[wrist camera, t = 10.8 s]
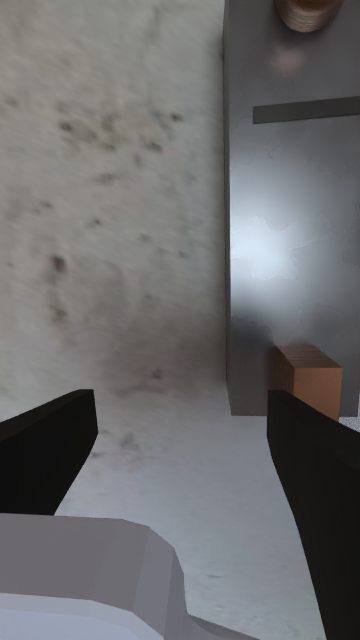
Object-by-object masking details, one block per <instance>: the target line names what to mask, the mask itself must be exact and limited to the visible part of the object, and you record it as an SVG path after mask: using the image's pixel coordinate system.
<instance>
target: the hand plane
mask: <svg viewBox="0 0 360 640" xmlns="http://www.w3.org/2000/svg"><path fill="white" fill-rule="evenodd" d="M223 107H224V198H225V289H226V380H227V389H228V396H229V402H230V409H231V415H232V416H267V399H268V390H285V391H287V392H289V393H291V394H292V395H294V396H295V397H297V398H299V399H300V400H302V401H303V402H305V403H306V404H308V405H310V406H311V407H313V408H314V409H316V410H318V411H319V412H321V413H323V414H324V415H326V416H328V417H330V418H332V419H333V420H335V421H337V422H338V420H339V417H357V415H358V404H359V394H360V0H225V6H224V21H223Z"/></svg>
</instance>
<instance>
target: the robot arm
mask: <svg viewBox="0 0 360 640" xmlns="http://www.w3.org/2000/svg"><path fill="white" fill-rule="evenodd" d="M97 435H98V426H97V417H96V408H95V399H94V390H93V389H79V390H76V391H73V392H70V393H68V394H65V395H63V396H61V397H58V398H56V399H54V400H52V401H50V402H47V403H45V404H43V405H41V406H39V407H36V408H34V409H32V410H29V411H27V412H25V413H22V414H20V415H18V416H15V417H13V418H10V419H8V420H5V421H3V422H0V640H259V639H257V638H254V637H251V636H248V635H245V634H243V633H240V632H237V631H234V630H231V629H229V628H226V627H223V626H220V625H218V624H215V623H212V622H209V621H206V620H204V619H201V618H198V617H195V616H193V615H190V614H188V612H187V608H186V603H185V591H184V573H183V571H182V568H181V565H180V563H179V560H178V557H177V555H176V552H175V549H174V548H173V547H172V546H171V545H170V544H169V543H168V542H166V541H165V540H164V539H163V538H162V537H160V536H159V535H158V534H157V533H156V532H154V531H153V530H152V529H151V528H150V527H148V526H145V525H141V524H137V523H134V522H130V521H126V520H123V519H110V518H90V517H70V516H54V514H55V512H56V510H57V508H58V507H59V505H60V503H61V501H62V500H63V498H64V496H65V495H66V493H67V491H68V490H69V488H70V486H71V485H72V483H73V481H74V480H75V478H76V476H77V475H78V473H79V471H80V470H81V468H82V466H83V465H84V463H85V461H86V459H87V458H88V456H89V454H90V452H91V450H92V447H93V445H94V443H95V440H96V438H97ZM267 439H268V444H269V448H270V452H271V456H272V460H273V463H274V466H275V468H276V471H277V474H278V476H279V479H280V481H281V484H282V487H283V489H284V492H285V495H286V497H287V500H288V502H289V505H290V508H291V510H292V513H293V516H294V519H295V522H296V525H297V528H298V531H299V534H300V538H301V542H302V545H303V549H304V553H305V556H306V560H307V564H308V567H309V571H310V575H311V579H312V583H313V587H314V590H315V594H316V598H317V602H318V606H319V610H320V614H321V618H322V623H323V627H324V631H325V635H326V639H327V640H360V432H357V431H355V430H353V429H351V428H349V427H347V426H345V425H343V424H341V423H339V422H337V421H335V420H333V419H332V418H330V417H328V416H326V415H324V414H323V413H321V412H319V411H318V410H316V409H314V408H313V407H311V406H310V405H308V404H306V403H305V402H303V401H302V400H300V399H299V398H297V397H295V396H294V395H292V394H291V393H289V392H287V391H285V390H268V399H267Z"/></svg>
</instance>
